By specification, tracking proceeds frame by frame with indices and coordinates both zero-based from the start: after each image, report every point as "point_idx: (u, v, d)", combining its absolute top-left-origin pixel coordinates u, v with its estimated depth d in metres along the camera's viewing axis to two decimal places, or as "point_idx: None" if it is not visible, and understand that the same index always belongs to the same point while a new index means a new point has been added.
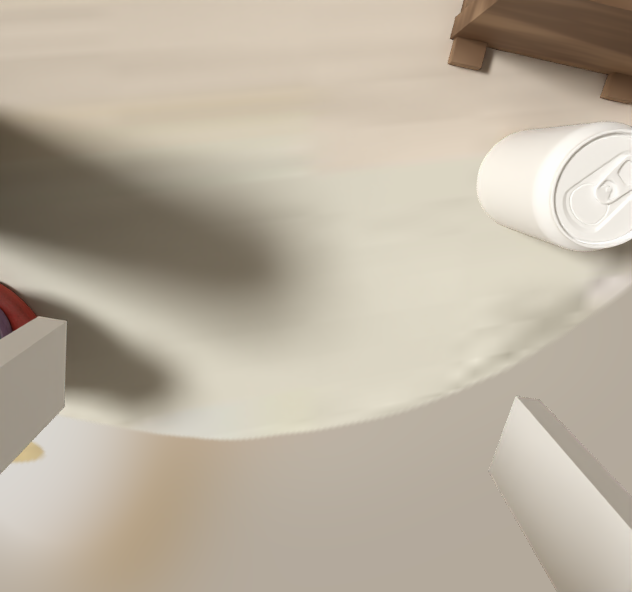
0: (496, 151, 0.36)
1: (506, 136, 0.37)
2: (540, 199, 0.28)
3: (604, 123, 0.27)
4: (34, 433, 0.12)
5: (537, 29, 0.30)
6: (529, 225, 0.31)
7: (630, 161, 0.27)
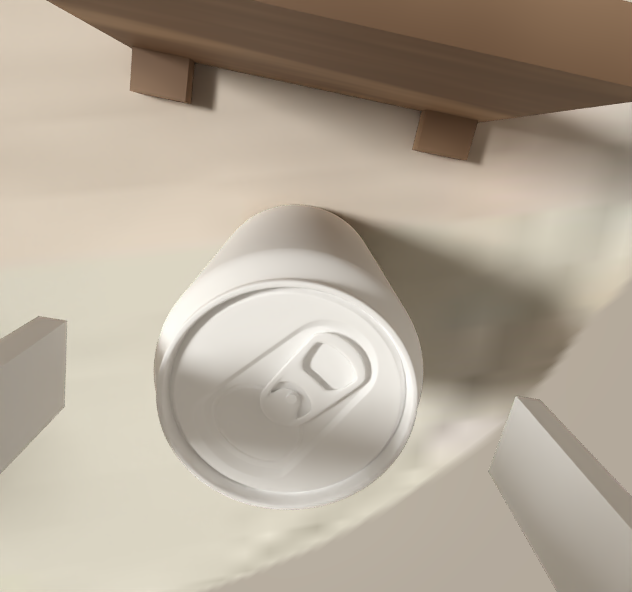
0: None
1: (254, 215, 0.22)
2: None
3: (272, 256, 0.12)
4: (34, 433, 0.12)
5: (193, 38, 0.14)
6: None
7: (328, 343, 0.12)
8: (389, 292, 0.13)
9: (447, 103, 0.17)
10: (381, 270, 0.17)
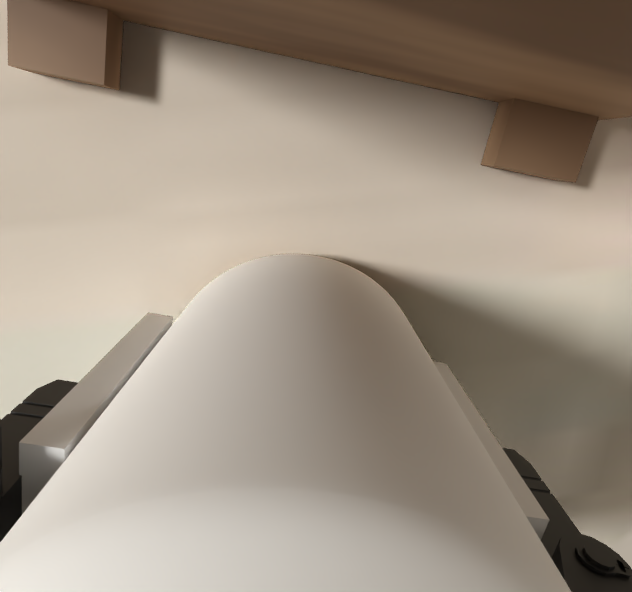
0: None
1: (226, 271, 0.13)
2: None
3: (205, 531, 0.04)
4: None
5: None
6: None
7: None
8: None
9: (580, 80, 0.09)
10: None
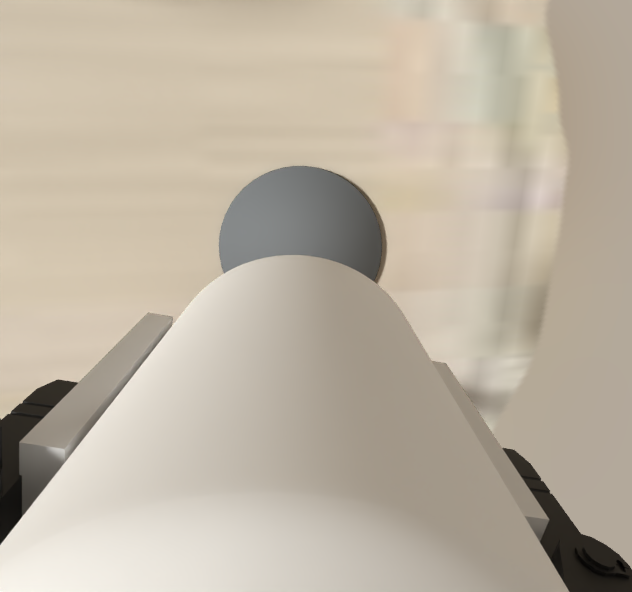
0: None
1: (226, 272, 0.13)
2: None
3: (204, 536, 0.04)
4: None
5: None
6: None
7: None
8: None
9: None
10: (461, 412, 0.08)
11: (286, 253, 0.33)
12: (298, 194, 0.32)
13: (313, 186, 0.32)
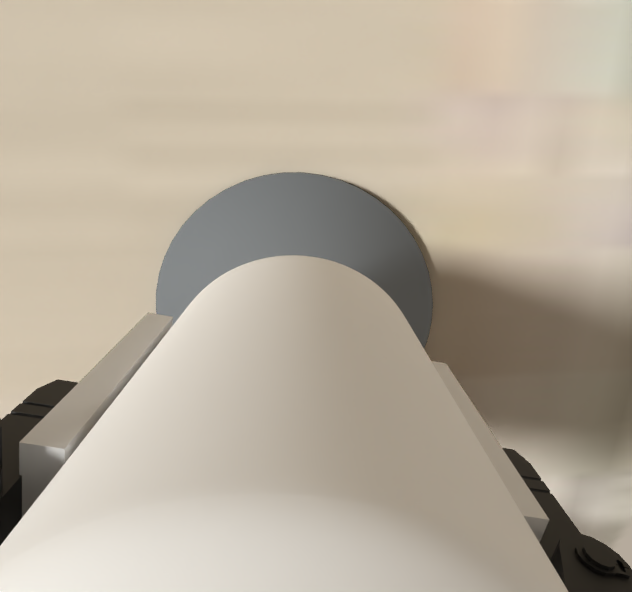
0: None
1: (226, 272, 0.13)
2: None
3: (204, 537, 0.04)
4: None
5: None
6: None
7: None
8: None
9: None
10: (461, 413, 0.08)
11: None
12: (291, 221, 0.18)
13: (317, 208, 0.18)
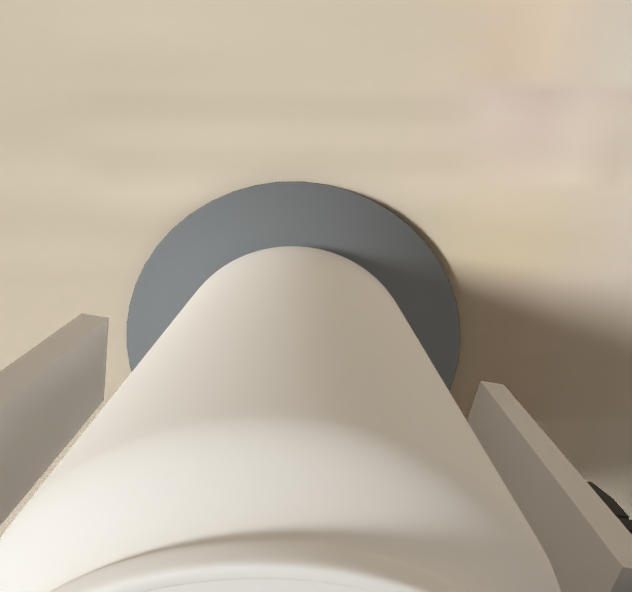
0: None
1: (230, 262, 0.14)
2: None
3: (224, 447, 0.05)
4: (80, 424, 0.12)
5: None
6: None
7: None
8: (509, 514, 0.05)
9: None
10: None
11: None
12: (289, 241, 0.15)
13: (321, 225, 0.15)
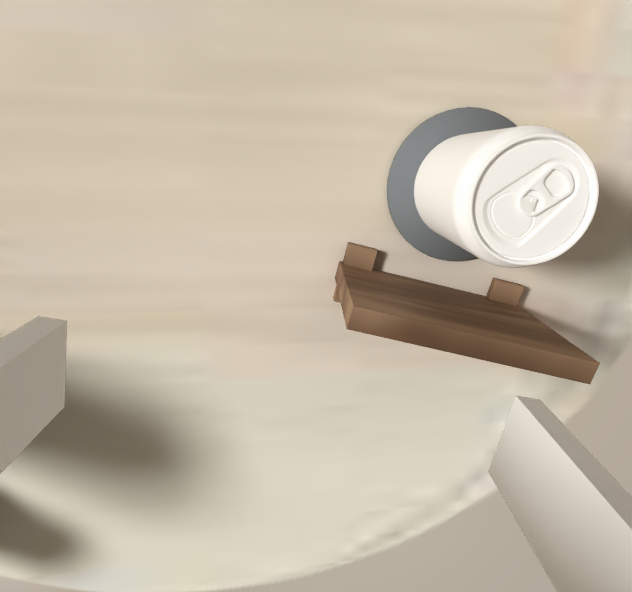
0: (432, 154, 0.33)
1: None
2: (460, 207, 0.26)
3: (531, 127, 0.25)
4: (34, 433, 0.12)
5: None
6: (453, 235, 0.28)
7: (557, 170, 0.25)
8: None
9: None
10: None
11: None
12: None
13: (483, 127, 0.35)
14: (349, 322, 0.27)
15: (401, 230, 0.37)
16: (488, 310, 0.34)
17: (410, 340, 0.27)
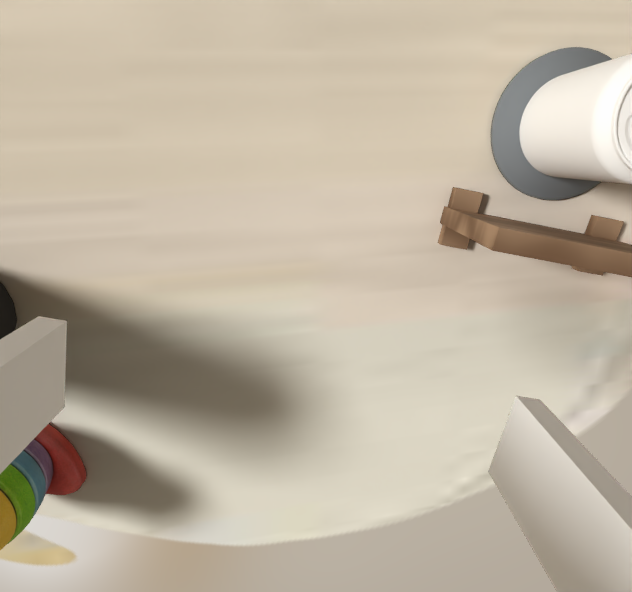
0: (542, 93, 0.35)
1: None
2: (601, 126, 0.27)
3: None
4: (34, 433, 0.12)
5: None
6: (584, 159, 0.30)
7: None
8: None
9: None
10: None
11: None
12: None
13: (585, 66, 0.36)
14: (494, 244, 0.29)
15: (505, 172, 0.39)
16: (599, 240, 0.36)
17: (550, 258, 0.29)
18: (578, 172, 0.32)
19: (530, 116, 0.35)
